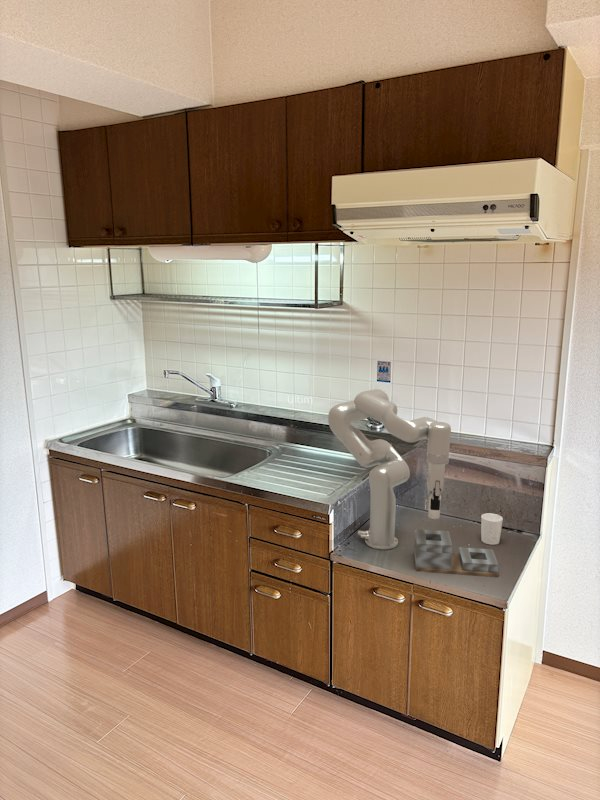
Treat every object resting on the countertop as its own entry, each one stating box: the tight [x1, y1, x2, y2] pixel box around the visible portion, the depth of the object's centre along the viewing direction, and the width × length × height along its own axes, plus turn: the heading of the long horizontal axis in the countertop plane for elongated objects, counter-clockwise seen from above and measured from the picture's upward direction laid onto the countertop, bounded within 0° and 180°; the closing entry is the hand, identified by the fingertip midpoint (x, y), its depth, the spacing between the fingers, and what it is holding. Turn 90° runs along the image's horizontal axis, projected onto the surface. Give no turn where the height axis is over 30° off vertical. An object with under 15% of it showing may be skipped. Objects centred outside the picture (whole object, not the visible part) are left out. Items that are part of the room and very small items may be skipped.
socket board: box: [413, 528, 499, 578], centre depth 218 cm, size 28×14×10 cm, turn 82°
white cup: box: [480, 512, 504, 546], centre depth 237 cm, size 8×8×10 cm
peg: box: [427, 493, 442, 520], centre depth 216 cm, size 4×4×8 cm
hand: (434, 506), depth 216 cm, fingers closed on peg, 4 cm apart
